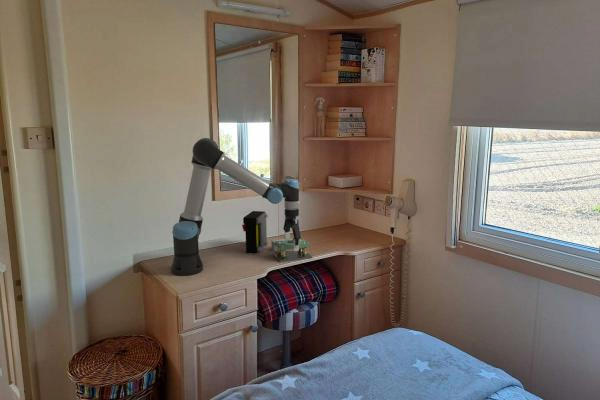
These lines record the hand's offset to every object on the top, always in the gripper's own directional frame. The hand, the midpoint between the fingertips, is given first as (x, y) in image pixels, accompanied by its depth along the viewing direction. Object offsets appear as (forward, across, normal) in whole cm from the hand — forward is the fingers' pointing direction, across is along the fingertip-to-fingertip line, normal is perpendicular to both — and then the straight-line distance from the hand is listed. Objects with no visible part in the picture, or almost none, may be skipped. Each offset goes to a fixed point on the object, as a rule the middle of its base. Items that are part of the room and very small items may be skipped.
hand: (291, 247), depth 233 cm
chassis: (+5, 0, 0) cm, 5 cm away
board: (-1, 0, 0) cm, 1 cm away
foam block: (+5, +15, 0) cm, 16 cm away
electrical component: (+6, +21, +14) cm, 26 cm away
